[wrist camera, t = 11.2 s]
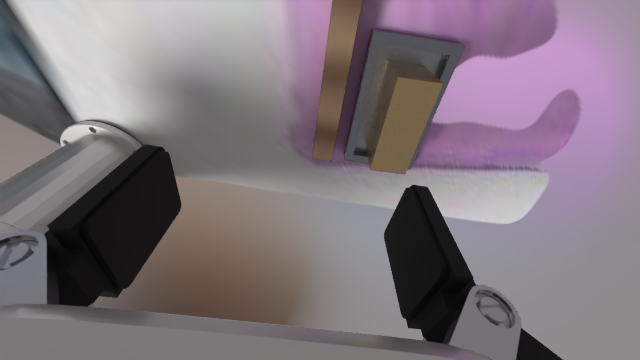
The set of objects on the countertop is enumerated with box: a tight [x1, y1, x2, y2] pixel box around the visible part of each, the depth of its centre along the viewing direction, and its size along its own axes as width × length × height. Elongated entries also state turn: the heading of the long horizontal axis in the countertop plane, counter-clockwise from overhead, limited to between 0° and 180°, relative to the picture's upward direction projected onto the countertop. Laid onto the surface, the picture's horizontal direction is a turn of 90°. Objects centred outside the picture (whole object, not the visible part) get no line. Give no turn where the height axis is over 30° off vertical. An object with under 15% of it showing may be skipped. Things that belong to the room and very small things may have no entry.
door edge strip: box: [312, 0, 362, 161], centre depth 26 cm, size 20×2×3 cm, turn 173°
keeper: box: [344, 29, 465, 169], centre depth 29 cm, size 15×9×2 cm, turn 173°
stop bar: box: [365, 60, 443, 174], centre depth 27 cm, size 4×10×6 cm, turn 173°
